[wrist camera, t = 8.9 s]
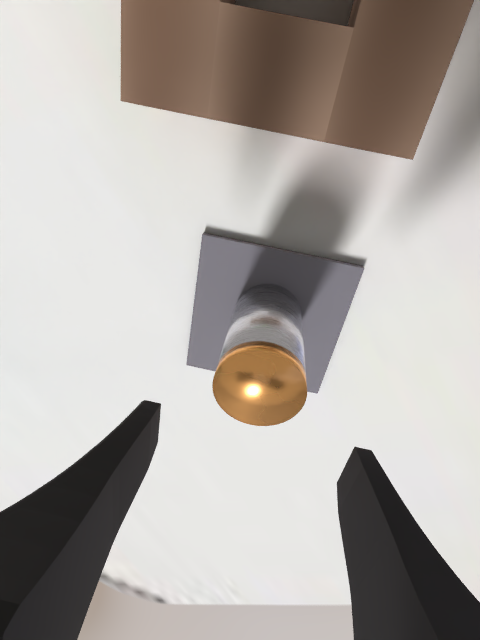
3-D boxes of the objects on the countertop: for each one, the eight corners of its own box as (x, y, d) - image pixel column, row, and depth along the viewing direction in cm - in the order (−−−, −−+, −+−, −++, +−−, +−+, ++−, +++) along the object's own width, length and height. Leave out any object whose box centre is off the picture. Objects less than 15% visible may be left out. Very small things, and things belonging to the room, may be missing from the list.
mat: (362, 266, 19) (364, 268, 19) (316, 389, 23) (317, 393, 23) (204, 232, 19) (202, 234, 19) (187, 361, 24) (186, 365, 23)
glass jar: (308, 291, 20) (318, 362, 14) (292, 348, 22) (294, 433, 15) (240, 278, 20) (218, 343, 14) (230, 335, 22) (208, 415, 16)
